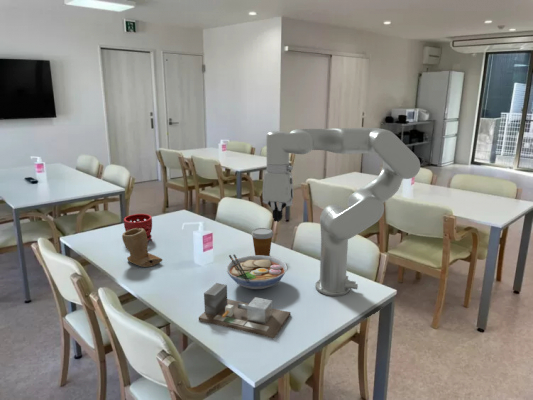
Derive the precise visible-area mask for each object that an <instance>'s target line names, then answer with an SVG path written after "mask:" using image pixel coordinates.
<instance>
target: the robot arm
mask: <svg viewBox="0 0 533 400" xmlns="http://www.w3.org/2000/svg"><path fill="white" fill-rule="evenodd" d="M265 139H266V141H265V142H266V171H265V172H264V176H263V181H262V192H261V193H262V203H263V204H265V205H268V206H269V207H270V208H271V210H272V219H273V222H277V223H278V222H280V221H281V220H283V210H284V209H285V208H286V207H291V206H293V205H294V203H293V199H294V196H295V195H294V194H295V193H294V180H293V175H292V172H290V171H293V169H294V167H293V166H292V165H290V154H294V155H306V154H308V153H310V152H311V151H324V152H330V153H333V154H340V155H341V154H342V155H345V154H347V155H350V154H374V155H377V156H378V157H379V159H381V160H382V168H381V171H380V173H379V174H378V176H377V177H375V179H373V180H372V181H370V182H369V183H367V184H365V185H364V186H362V187H360V188H359V189H357V190H355V191H354V192H353V193H352V194H350V195H349V197H348V198H347V207H348V208H347V209H345V208H344V207H343V206H341V205H339V204H329V205H327V206H325V207H324V209H323V210H322V211H321V213H320V218H319V220H320V222H319V225H320V261H319V263H320V264H319V280H317V281H316V282H315V285H314V286H315V289H316V291H317V292H319V293H321V294H322V295H325V296H332V297H338V296H339V297H340V296H343V295H344V296H345V295H346V294H347V293H349V291H350V290H351V289H353V290H358V287H359V284H358V283H356V281H355V280H354V281H353V280H350V279H349V276H348V275H347V266H348V263H347V262H348V250H349V249H348V247H349V246H348V245H349V244H348V243H349V240H350V239H352V238H354V237H356V236H357V235H359V234H360V233H362V232H363V231H365V230H367V229H369V228H370V227H372V226H373V225H375V224H376V223H378V221H380V219H381V218H382V217H383V215H384V213H385V205H384V203H385V202H387V201H388V200H389V199H391V198H392V197H393V196H394V195H396V193H398V191H399V189H400V187H401V184H402V182H403V180H405V179H406V180H409V179H410V180H411V179H413V178H414V177H416V176H417V175H418V174H419V173H420V171H421V162H420V159H419V157H418V156H417V155H416V154H415V152H413V151H412V149H410V148H409V147H408V146H407V145H406V144H405V143H404V142H403V141H402V140H401V139H400V138H399V137H398V136H397V135H396V134H395V133H394V132H393V131H391V130H388V129H383V128H381V127H380V128H378V127H355V128H354V127H353V128H352V127H351V128H349V127H348V128H341V127H340V128H338V127H336V128H297V129H293V130H291V131H289V133H288V132H286V131H279V130H278V131H275V130H274V131H269V132H267V134H266V138H265Z"/></svg>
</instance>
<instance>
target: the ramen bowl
mask: <svg viewBox="0 0 533 400" xmlns="http://www.w3.org/2000/svg"><path fill="white" fill-rule="evenodd" d="M228 258H229V259H230V260H231V261H230V262H229V263H228V264H227V265H226V272H227V274H228V276H229V277H230V278H231V279H232V280H233V281H234V282H235V283H236V284H237V285H239V286H241V287H244V288H246V289H251V290H263V289H266V288H267V289H268V288H271V287H272V286H274V285H276V284H278V283H279V282H280V281H281V280H282V279H283V277H284V276H285V274H286V272H287V270H288V266H287V263H286V262H285V261H283V260H282V259H280V258H277V257H275V256H262V255H256V256H255V255H246V256H241V257H237V255H236V254H233V255H231V254H229V255H228Z"/></svg>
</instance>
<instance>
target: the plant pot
mask: <svg viewBox="0 0 533 400" xmlns="http://www.w3.org/2000/svg"><path fill="white" fill-rule="evenodd" d="M123 225H124V227H123V228H124V230H125V231H124V232H126V231H128V230H131V229H135V228H140V229H142V228H143V229H144V230H145V231H146V234H147V239H148V242H149V241H150V240H151V239H152V237H153V236H152V229H153V217H152V215H150V214H148V213H135V214H129V215H127V216H125V217H124V218H123Z"/></svg>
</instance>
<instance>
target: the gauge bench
mask: <svg viewBox="0 0 533 400" xmlns="http://www.w3.org/2000/svg"><path fill="white" fill-rule="evenodd" d="M203 300H204V301H203V302H204V303H203V304H204V312H203V313H201V315H199V316H198V322H204V323H206V324H212V325H215V326H219V327H224V328H229V329H232V330H237V331H242V332H245V333H250V334H255V335H258V336H263V337H266V338H270V339H276V337H277V336H278V334H279V333H280V331H281V330H282V329H283V327H284V326H285V324H286V323H287V322H288V320H289V318H291V312H290V311H286V310H282V309H277V308H273V315H272V316H271V317H270V319H269V320H268V321H267V323H266V324H262V323H258V322H253V321H249V320H248V316H247V310H244V309H239V308H238V304H239V303H240V304H245V305H249V303H250V302H244V301H243V302H242V301H239V300H234V299H229V298H228V284H224V283H218V282H216V283H215V284H213V285H212V286H210V288H209V289H207V290H206V291H205V292H204V293H203ZM228 304H229V305H233V306H234V314H233V315H232V316H231V317H229V316H225V317H222V315H223V314H224V313H225V307H226V306H227V305H228Z"/></svg>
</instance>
